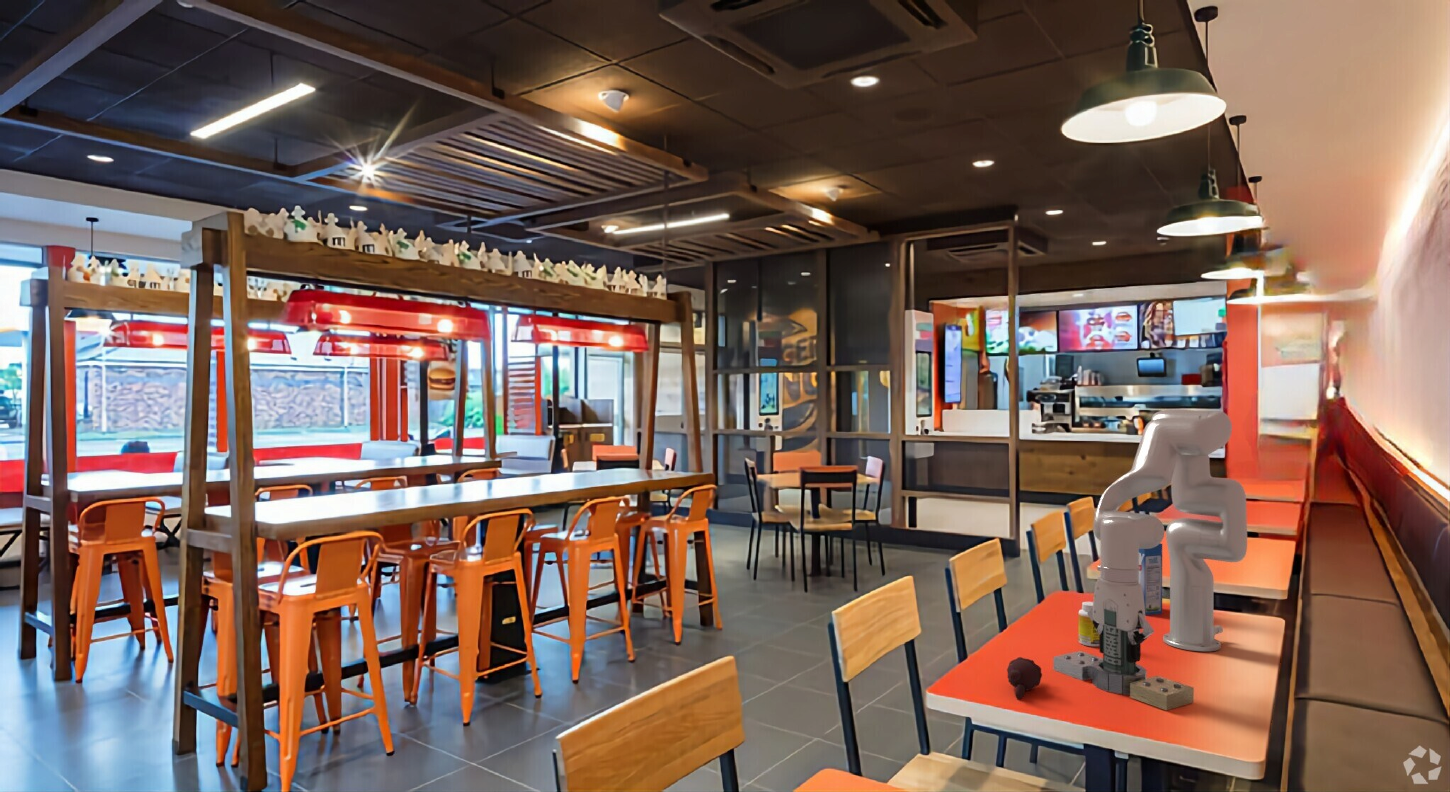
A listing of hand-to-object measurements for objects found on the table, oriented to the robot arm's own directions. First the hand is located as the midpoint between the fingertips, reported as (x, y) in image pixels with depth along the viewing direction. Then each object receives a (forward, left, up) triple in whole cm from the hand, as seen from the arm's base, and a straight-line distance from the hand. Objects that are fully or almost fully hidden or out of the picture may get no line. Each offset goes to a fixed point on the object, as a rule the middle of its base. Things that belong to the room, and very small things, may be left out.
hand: (1119, 655), depth 180 cm
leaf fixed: (0, -4, -6) cm, 8 cm away
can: (0, 0, -5) cm, 5 cm away
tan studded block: (0, +10, -6) cm, 12 cm away
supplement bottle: (-19, -23, -7) cm, 30 cm away
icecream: (+20, -8, -7) cm, 23 cm away
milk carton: (-58, -38, -7) cm, 69 cm away
